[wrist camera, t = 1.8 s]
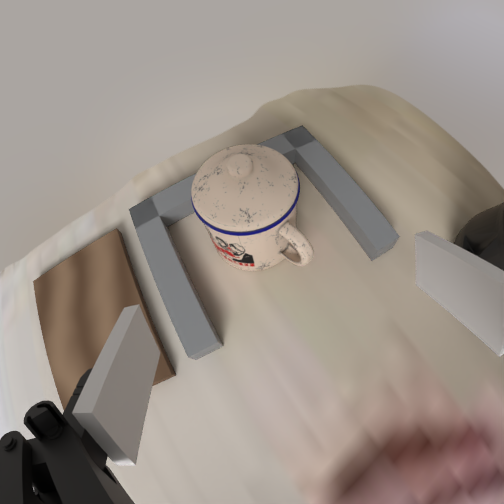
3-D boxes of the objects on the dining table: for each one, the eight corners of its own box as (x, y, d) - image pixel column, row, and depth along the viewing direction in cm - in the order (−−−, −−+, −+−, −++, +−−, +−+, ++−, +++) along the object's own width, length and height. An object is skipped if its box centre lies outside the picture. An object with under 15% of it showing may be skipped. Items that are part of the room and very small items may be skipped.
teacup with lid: (195, 236, 34) (158, 168, 23) (255, 185, 36) (242, 108, 25) (274, 313, 29) (267, 267, 19) (336, 249, 31) (357, 180, 21)
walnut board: (121, 233, 35) (116, 228, 34) (175, 375, 28) (171, 374, 27) (38, 284, 34) (33, 281, 32) (73, 419, 26) (67, 419, 25)
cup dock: (302, 139, 38) (302, 125, 36) (392, 247, 31) (399, 236, 28) (137, 220, 36) (128, 209, 33) (195, 359, 28) (188, 357, 26)
